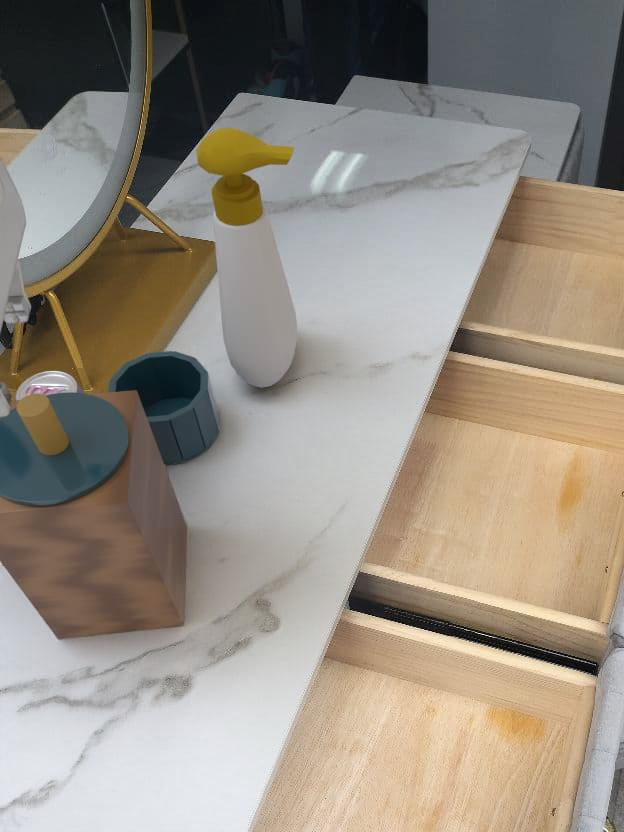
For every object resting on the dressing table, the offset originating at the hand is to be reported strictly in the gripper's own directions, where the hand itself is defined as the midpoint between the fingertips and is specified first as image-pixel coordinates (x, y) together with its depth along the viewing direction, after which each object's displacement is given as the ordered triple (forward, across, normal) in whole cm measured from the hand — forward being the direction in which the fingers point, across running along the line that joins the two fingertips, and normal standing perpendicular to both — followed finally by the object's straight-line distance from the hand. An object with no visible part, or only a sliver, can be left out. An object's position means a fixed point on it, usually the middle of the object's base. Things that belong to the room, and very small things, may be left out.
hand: (10, 361), depth 58 cm
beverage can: (+30, -12, -4) cm, 32 cm away
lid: (+10, 0, 0) cm, 10 cm away
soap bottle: (+30, -29, +16) cm, 44 cm away
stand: (+30, 0, 0) cm, 30 cm away
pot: (+29, -20, +4) cm, 36 cm away
